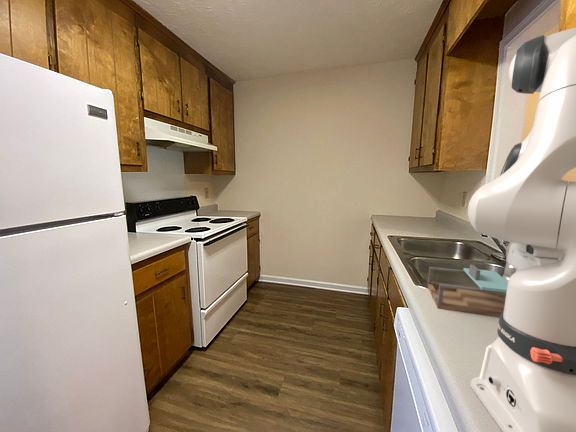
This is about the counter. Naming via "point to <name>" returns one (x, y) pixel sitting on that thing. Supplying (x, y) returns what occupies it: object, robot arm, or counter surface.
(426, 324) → the counter surface
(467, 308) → the brown wooden box
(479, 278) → the cover
